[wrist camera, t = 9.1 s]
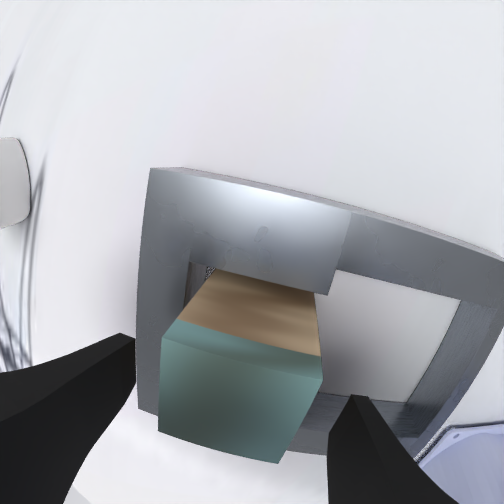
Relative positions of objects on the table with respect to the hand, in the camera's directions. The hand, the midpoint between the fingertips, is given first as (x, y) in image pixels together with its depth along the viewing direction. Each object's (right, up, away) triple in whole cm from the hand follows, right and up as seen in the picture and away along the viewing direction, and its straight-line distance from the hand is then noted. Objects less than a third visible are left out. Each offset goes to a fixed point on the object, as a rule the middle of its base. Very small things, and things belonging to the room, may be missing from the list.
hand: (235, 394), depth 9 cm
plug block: (+1, +2, +5) cm, 6 cm away
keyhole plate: (+4, +1, +5) cm, 6 cm away
